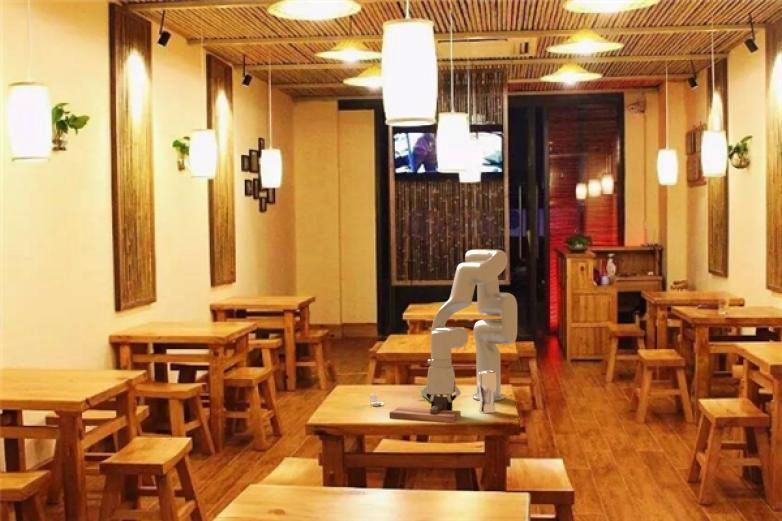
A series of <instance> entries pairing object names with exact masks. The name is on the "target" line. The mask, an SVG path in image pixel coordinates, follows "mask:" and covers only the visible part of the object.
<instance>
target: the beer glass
mask: <svg viewBox="0 0 782 521" xmlns="http://www.w3.org/2000/svg"><path fill="white" fill-rule="evenodd" d="M478 392H479V397H480V400H479V410H478V412H479V413H481V414H493V413H496V407H495V401H494V399H495V392H496V372H495V371H491V370H483V371H478Z"/></svg>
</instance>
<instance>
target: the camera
mask: <svg viewBox="0 0 782 521" xmlns="http://www.w3.org/2000/svg"><path fill="white" fill-rule="evenodd" d="M447 403H448V399H447V396H445V395H437V396H436V397H434V406H432V409H431V408H429V409H430V414H436V413H437V412H439V411H440V410H447Z"/></svg>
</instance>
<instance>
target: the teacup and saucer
mask: <svg viewBox="0 0 782 521" xmlns="http://www.w3.org/2000/svg"><path fill="white" fill-rule="evenodd" d="M369 402H370V403H369V404H370V405H372V407H379V406H384V405H385V402H382V401H378V394H377V393H371V394H370V393H369ZM381 403H382V404H381Z"/></svg>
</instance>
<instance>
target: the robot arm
mask: <svg viewBox="0 0 782 521" xmlns="http://www.w3.org/2000/svg"><path fill="white" fill-rule="evenodd" d="M464 257H465V258H464V261H462V262H461V263H459V264H458V265H457V267H456V268H455V269H456V270H455V273H454V278H453V282H452V287H451V292H450V295H449V297H448V298H449V299H448V300H447V301H446V302H445V303H444V304H443V305H442V306H441V307H440V308H439V310H437V312H436V313H435V315H434V318H433V322H432V325H431V329H430V359H427V361H426V362H427V364H429V365H430V366H429V367H428V369H427V370H428V371H427V378H426V379H427V380H426V385H427V386H426V385H425V386H426V387H425V388H424V390H423V391H422V392H423V393H424V394H425V395H426V396H427V397H428V398H429V399H430V401H431V402H430V401H429V402H430V404H431V405H430V406H431V407H430V409H432V406H434V397H436V395H437V396H440V395H443V396H446V397H447V399H448V403H447V410H452V411H453V401H454V400H456V398H457V397H459V396H460V395H461V394H462V392H461V390H460V389H459V388H458V387H457V385H456V384H457V383H456V375H455V369H454V366H452V349H456V348H457V349H459V348H460V349H461V348H463V347H464V346H466V344H467V343H468V341H469V335H468V332H467V331H466V330H465V329H464V328H461V327H453V326H446V323H447V322H448V320H449V318H450V317H451V316H453V315H454V314H456V313H457V312H460V311H462V310H464V309H466V308H468V307H470V306H471V305H472V302H473V298H474V294H475V293H474V292H475V289H476V285H477V290H476V292H477V293H476V294H477V297H476V298H477V304H476V305H477V311H478V313H479V314H480V315H482V316H486V317H500V319H489V318H484V319H479V320H478V321H476V322H475V324H474V326H473V337H474V342H475V348H476V349H475V351H476V352H475V354H476V355H475V356H476V359H475V360H476V361H475V362H476V393H474V394H472V399H473V400H476V401H480V397H479V392H478V371H483V370H491V371H495V372H496V392H495V399H494V402H495V401H502V400H504V399H505V394H503V393H502V392H501V391H502V390H501V380H502V379H501V376H502V375H501V352H500V350H499V347H498V346H497V345H505V346H508V345H512V344H514V343H515V342H516V340H517V337H518V336H517V335H518V302H517V299H516V297H515V296H514V295H513V293H512V294H511V293H509V292H500V288H499V287H500V285H499V284H500V283H499V281H500V280H499V276H500V275H501V273H502V272H503V271H504V270H505V269H506V267H507V265H508V256H507V253H506V252H505V251H503V250H501V249H488V248H487V249H485V248H484V249H481V248H476V249H470V250H467V252H466V253H465V256H464Z"/></svg>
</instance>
